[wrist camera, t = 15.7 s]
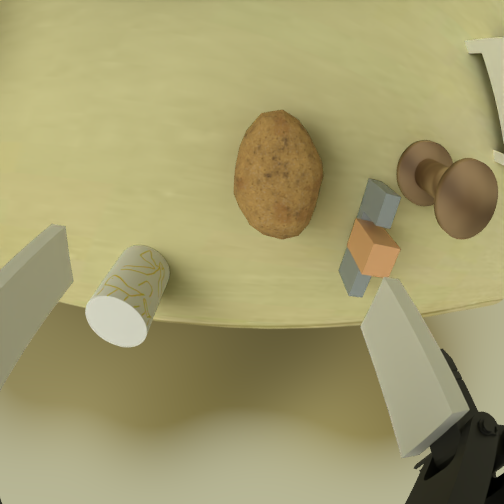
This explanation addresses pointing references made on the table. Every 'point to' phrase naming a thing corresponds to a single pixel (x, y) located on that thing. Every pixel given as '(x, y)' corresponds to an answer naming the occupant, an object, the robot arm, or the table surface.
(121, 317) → the cup
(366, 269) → the orange brown tapered block
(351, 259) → the gray board
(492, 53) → the paper towel holder
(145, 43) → the table surface
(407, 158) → the bobbin
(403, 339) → the robot arm
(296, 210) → the potato
